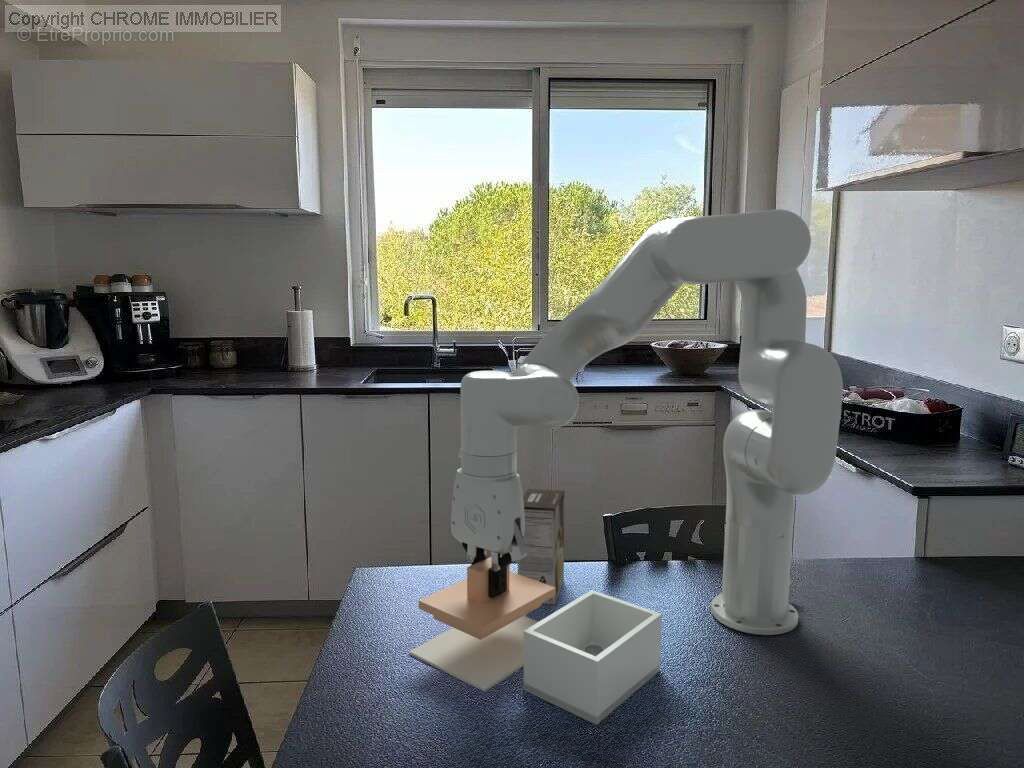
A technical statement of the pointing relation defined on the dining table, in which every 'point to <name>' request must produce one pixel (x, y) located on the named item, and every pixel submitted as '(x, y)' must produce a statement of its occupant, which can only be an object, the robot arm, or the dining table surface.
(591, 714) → the tub
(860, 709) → the dining table surface
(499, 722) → the dining table surface
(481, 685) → the mat
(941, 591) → the dining table surface
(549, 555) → the coffee box
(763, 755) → the dining table surface
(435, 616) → the lid
